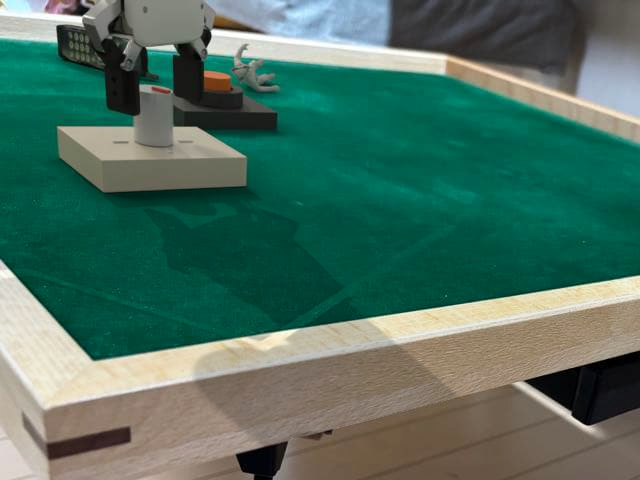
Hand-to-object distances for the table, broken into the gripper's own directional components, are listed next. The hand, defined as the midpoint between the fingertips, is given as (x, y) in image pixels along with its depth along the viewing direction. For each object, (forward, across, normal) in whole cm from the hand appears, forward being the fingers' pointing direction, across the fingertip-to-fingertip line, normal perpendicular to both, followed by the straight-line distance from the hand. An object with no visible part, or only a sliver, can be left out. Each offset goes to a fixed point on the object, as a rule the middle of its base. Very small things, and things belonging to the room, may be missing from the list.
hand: (157, 105), depth 85 cm
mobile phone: (+7, -33, -33) cm, 47 cm away
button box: (+7, -23, -10) cm, 26 cm away
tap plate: (+6, 0, 0) cm, 7 cm away
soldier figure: (+7, -45, -18) cm, 49 cm away
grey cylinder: (+3, 0, 0) cm, 3 cm away
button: (+3, -23, -10) cm, 25 cm away
